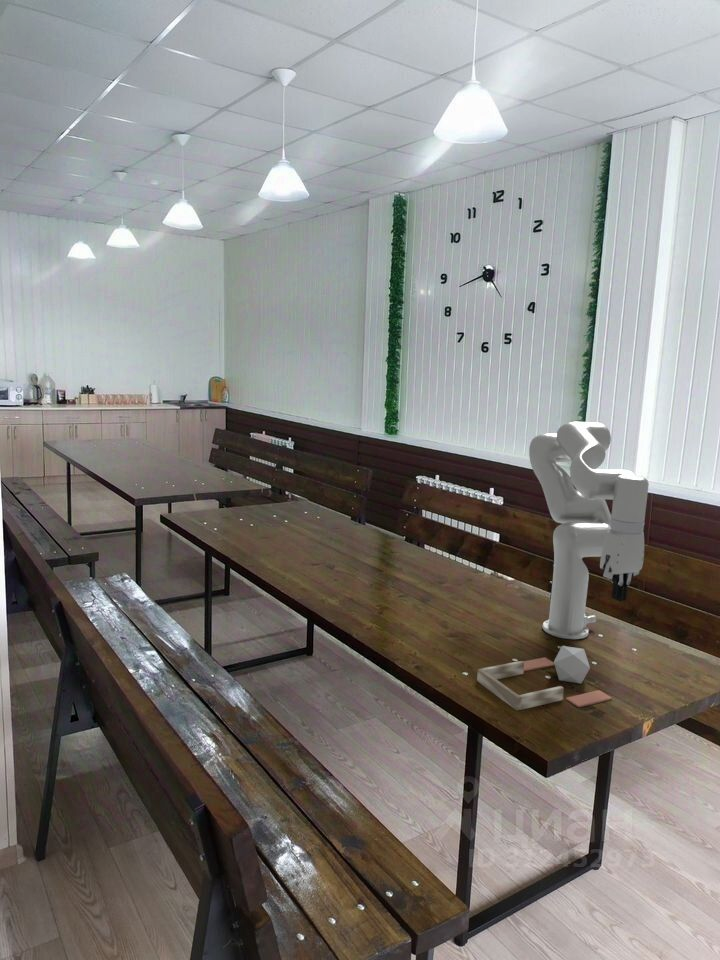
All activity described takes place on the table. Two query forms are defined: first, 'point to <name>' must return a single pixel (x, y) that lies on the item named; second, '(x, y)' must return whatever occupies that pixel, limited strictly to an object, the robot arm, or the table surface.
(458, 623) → the table surface
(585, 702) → the mat
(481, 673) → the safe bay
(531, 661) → the mat
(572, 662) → the die
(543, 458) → the robot arm
